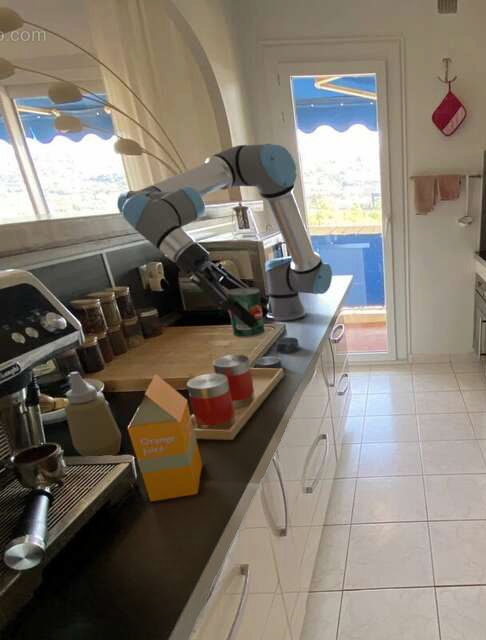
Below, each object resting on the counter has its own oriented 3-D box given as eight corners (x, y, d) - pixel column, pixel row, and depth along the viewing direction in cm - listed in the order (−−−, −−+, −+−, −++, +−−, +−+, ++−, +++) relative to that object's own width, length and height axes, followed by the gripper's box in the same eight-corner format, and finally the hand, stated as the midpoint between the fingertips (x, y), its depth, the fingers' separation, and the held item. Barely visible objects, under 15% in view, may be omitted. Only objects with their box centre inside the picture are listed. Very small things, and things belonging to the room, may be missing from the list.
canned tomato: (231, 331, 118) (223, 289, 113) (261, 327, 121) (255, 286, 116) (235, 339, 111) (228, 295, 106) (267, 335, 114) (262, 292, 110)
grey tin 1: (262, 365, 134) (260, 355, 133) (284, 365, 134) (283, 356, 133) (253, 374, 128) (252, 364, 127) (277, 374, 128) (276, 365, 126)
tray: (243, 375, 127) (242, 367, 126) (283, 376, 126) (282, 368, 125) (179, 439, 95) (176, 429, 94) (232, 441, 95) (230, 431, 94)
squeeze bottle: (69, 463, 87) (35, 379, 79) (103, 442, 94) (75, 363, 86) (103, 469, 85) (72, 383, 78) (135, 447, 93) (110, 366, 85)
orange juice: (149, 501, 77) (116, 397, 68) (159, 473, 84) (130, 375, 76) (198, 493, 79) (172, 391, 70) (203, 466, 86) (181, 370, 78)
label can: (207, 416, 104) (198, 372, 99) (241, 417, 103) (233, 373, 98) (190, 434, 96) (179, 388, 92) (227, 435, 96) (217, 389, 91)
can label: (229, 394, 114) (221, 354, 110) (260, 395, 114) (254, 355, 109) (215, 409, 107) (206, 366, 102) (248, 410, 107) (240, 367, 102)
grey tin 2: (281, 345, 150) (279, 337, 149) (301, 346, 150) (300, 337, 149) (274, 352, 144) (273, 343, 143) (295, 353, 144) (294, 344, 142)
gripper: (198, 257, 119) (265, 318, 125) (153, 271, 100) (235, 341, 106) (213, 237, 116) (281, 299, 122) (171, 247, 97) (253, 320, 104)
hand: (260, 319), depth 114 cm, fingers closed on canned tomato, 8 cm apart
